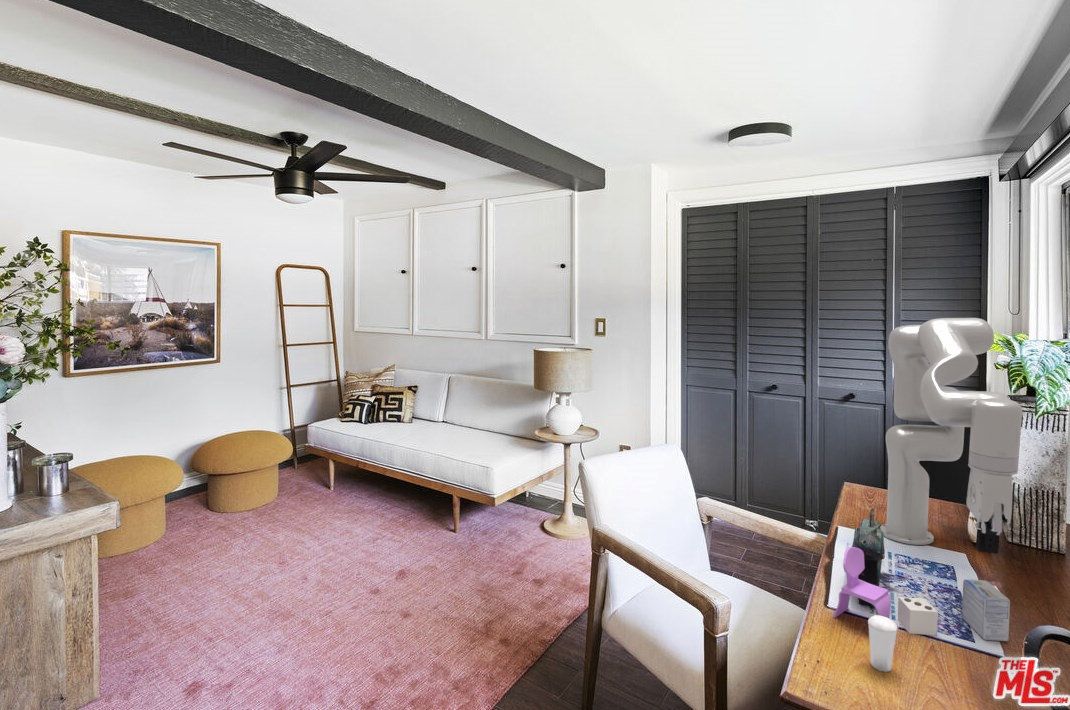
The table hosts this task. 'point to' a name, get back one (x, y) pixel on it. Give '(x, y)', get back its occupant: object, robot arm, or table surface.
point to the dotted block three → (917, 616)
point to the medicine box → (986, 610)
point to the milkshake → (882, 642)
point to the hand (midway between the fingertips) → (986, 550)
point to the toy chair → (861, 585)
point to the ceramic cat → (870, 551)
